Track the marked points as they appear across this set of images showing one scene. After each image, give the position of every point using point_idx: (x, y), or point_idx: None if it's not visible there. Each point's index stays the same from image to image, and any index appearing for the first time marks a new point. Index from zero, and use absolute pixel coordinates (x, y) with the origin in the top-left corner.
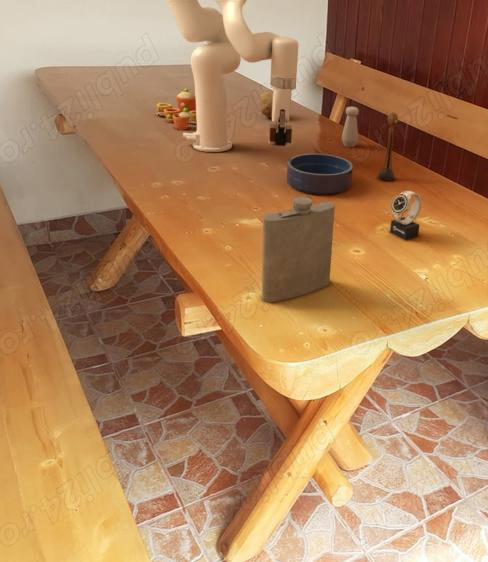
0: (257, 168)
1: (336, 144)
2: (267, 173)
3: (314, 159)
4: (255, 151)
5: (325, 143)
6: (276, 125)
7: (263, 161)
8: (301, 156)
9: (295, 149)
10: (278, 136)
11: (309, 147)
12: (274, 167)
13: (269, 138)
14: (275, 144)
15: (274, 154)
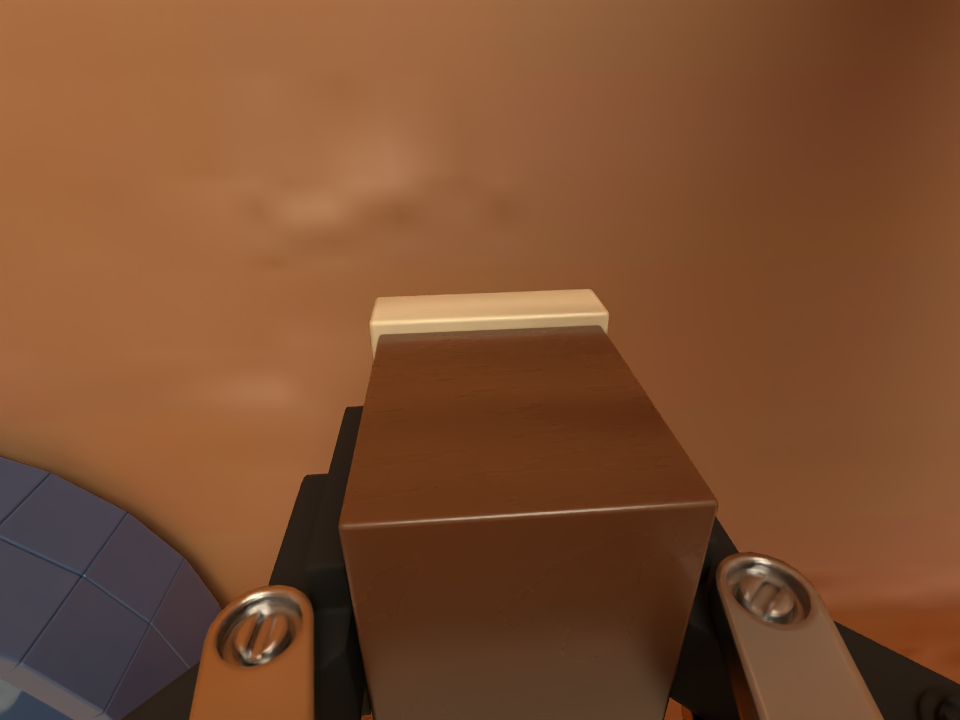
0: (197, 94)
1: None
2: (58, 220)
3: None
4: (836, 61)
5: (918, 635)
6: (609, 640)
7: (470, 168)
8: (20, 678)
9: (824, 461)
10: (276, 560)
11: (853, 551)
12: (288, 292)
13: (437, 348)
14: (348, 411)
15: (705, 286)
